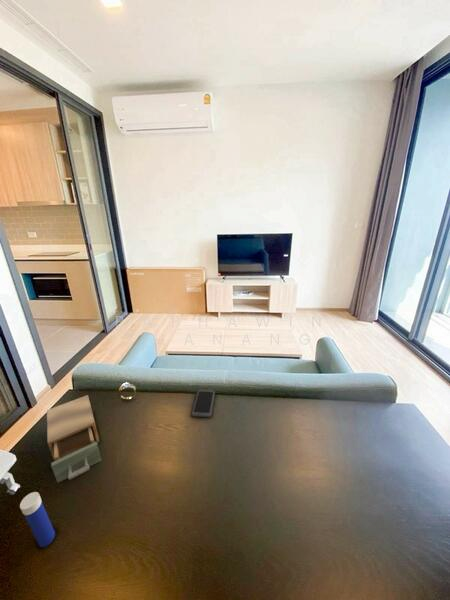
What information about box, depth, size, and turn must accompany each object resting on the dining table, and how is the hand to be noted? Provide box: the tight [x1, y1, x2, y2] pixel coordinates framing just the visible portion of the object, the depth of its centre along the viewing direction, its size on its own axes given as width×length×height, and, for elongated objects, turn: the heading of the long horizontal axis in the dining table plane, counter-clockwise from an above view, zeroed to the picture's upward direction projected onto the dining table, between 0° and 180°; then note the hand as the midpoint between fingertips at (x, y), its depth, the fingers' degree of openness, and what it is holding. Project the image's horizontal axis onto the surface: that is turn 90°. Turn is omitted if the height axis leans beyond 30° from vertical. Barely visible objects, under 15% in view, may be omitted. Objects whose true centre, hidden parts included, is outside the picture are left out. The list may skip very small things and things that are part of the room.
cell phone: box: [191, 389, 216, 418], centre depth 97 cm, size 7×14×1 cm, turn 175°
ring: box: [117, 382, 137, 401], centre depth 98 cm, size 7×3×8 cm, turn 98°
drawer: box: [50, 426, 102, 484], centre depth 75 cm, size 19×11×7 cm, turn 35°
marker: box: [19, 491, 56, 548], centre depth 55 cm, size 3×3×14 cm
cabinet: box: [46, 394, 100, 462], centre depth 83 cm, size 16×13×9 cm
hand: (0, 513), depth 55 cm, fingers open, 8 cm apart
